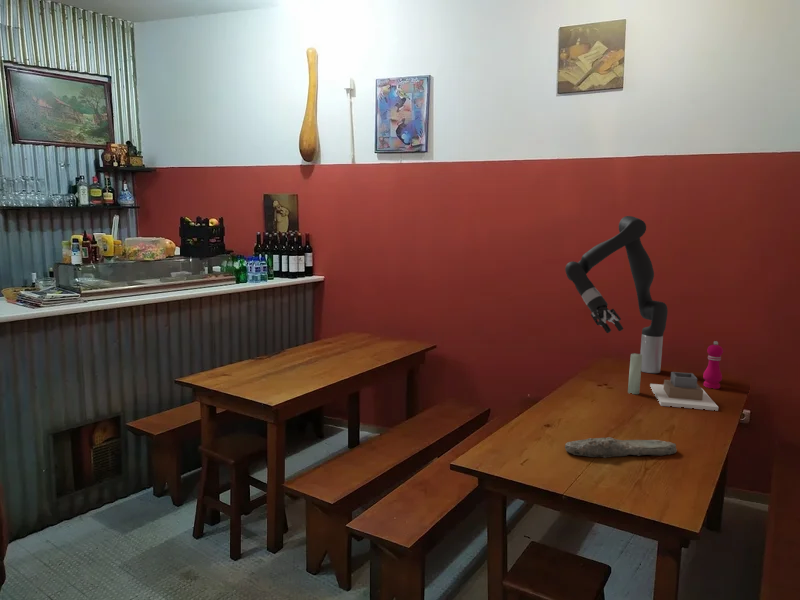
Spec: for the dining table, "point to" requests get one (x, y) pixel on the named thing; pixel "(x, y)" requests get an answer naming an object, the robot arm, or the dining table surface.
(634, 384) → the green dowel
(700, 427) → the dining table surface
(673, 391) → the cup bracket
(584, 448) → the elongated rock
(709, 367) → the pepper mill
